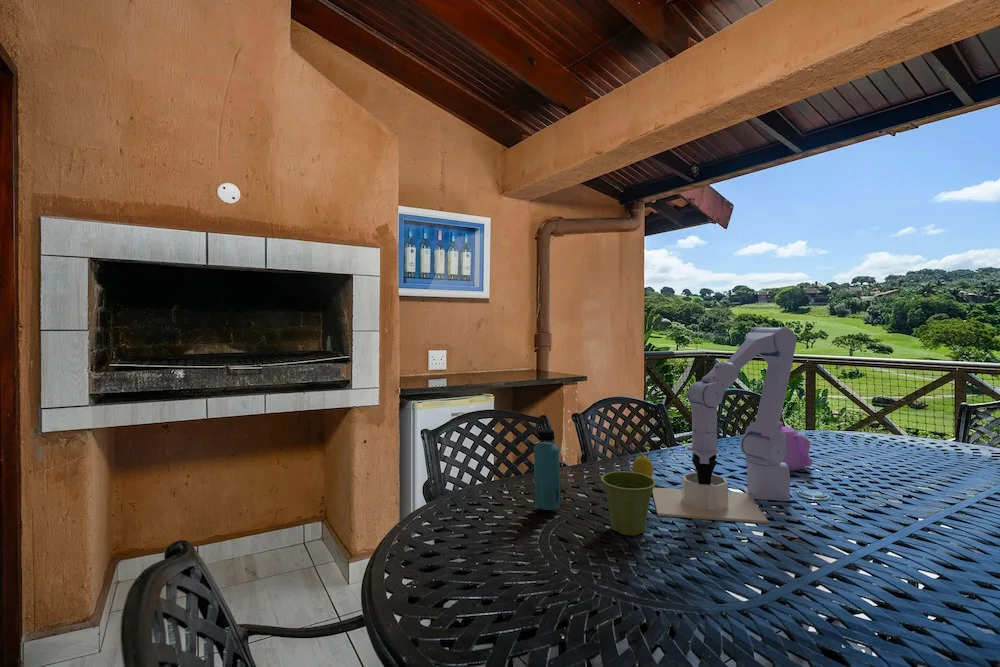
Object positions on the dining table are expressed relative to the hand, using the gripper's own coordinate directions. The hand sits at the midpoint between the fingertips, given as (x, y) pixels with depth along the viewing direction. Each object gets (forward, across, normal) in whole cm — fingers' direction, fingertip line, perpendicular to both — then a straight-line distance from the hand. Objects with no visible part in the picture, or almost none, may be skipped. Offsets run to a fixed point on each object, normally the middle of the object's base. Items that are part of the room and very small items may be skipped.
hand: (704, 484), depth 122 cm
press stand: (+5, 0, 0) cm, 5 cm away
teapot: (+5, -41, +19) cm, 46 cm away
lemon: (+5, -11, -16) cm, 21 cm away
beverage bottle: (+5, +17, -36) cm, 40 cm away
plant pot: (+5, +21, -16) cm, 27 cm away
